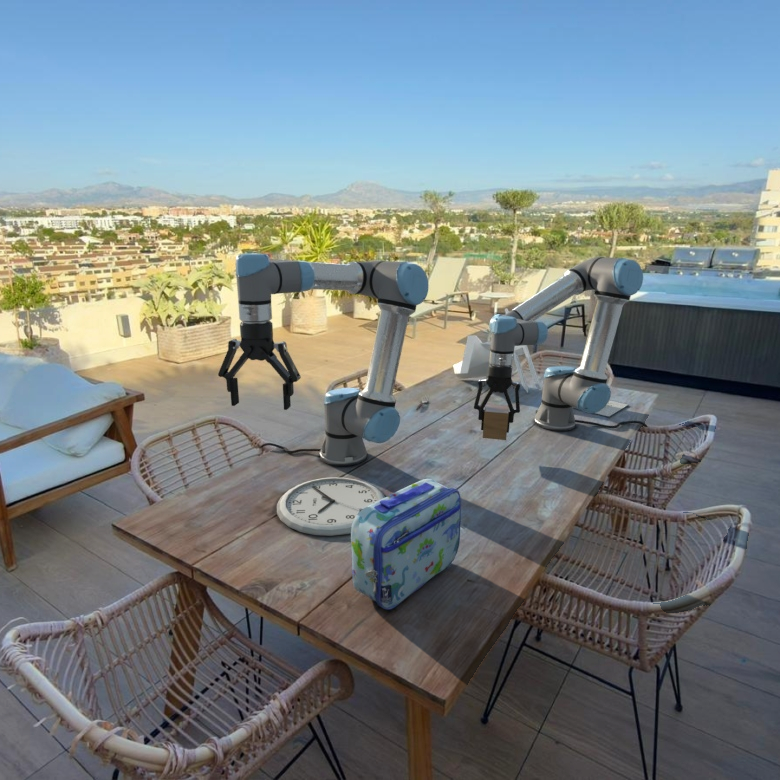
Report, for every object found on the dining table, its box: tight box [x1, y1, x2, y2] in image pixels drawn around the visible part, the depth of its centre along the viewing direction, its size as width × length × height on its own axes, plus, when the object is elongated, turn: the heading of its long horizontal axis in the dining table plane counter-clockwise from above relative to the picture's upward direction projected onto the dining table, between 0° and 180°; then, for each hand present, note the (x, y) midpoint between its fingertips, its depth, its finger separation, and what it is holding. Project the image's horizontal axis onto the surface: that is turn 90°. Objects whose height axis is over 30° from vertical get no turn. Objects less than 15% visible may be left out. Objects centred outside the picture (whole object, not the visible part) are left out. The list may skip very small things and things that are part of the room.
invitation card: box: [575, 399, 629, 418], centre depth 226 cm, size 21×1×15 cm
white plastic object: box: [452, 307, 542, 394], centre depth 254 cm, size 37×45×31 cm
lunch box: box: [350, 478, 462, 611], centre depth 110 cm, size 26×11×21 cm, turn 135°
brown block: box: [482, 403, 510, 441], centre depth 176 cm, size 8×8×9 cm
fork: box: [415, 395, 430, 410], centre depth 224 cm, size 3×16×2 cm, turn 160°
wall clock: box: [276, 476, 386, 537], centre depth 142 cm, size 30×2×30 cm
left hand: (261, 406), depth 130 cm, fingers open, 13 cm apart
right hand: (494, 429), depth 176 cm, fingers closed on brown block, 8 cm apart
